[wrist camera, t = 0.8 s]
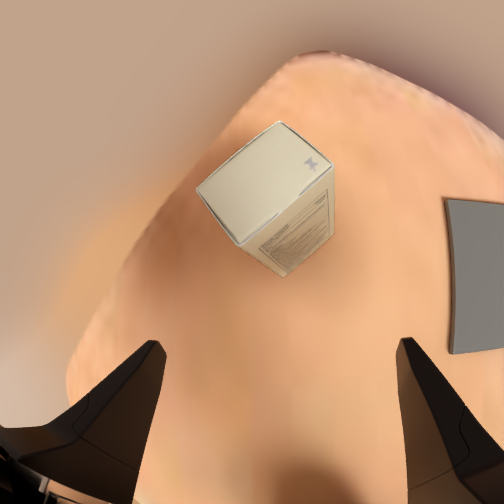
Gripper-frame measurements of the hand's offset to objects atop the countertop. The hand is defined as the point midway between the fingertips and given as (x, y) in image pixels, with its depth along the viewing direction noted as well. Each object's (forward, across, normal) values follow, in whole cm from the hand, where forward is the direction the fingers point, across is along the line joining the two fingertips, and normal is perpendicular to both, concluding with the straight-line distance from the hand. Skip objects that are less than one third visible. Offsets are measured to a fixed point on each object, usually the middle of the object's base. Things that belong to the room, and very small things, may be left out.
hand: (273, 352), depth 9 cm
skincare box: (+16, 0, +5) cm, 17 cm away
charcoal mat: (+12, -22, +8) cm, 26 cm away
